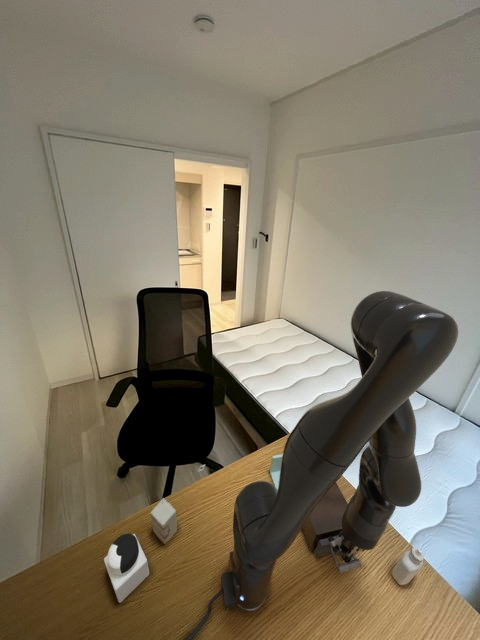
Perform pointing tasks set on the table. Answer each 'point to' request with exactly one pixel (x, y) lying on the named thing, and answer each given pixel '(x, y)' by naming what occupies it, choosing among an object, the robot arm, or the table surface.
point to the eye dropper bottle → (408, 566)
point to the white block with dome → (126, 565)
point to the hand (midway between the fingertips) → (344, 556)
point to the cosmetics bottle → (164, 520)
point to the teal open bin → (276, 469)
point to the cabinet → (325, 516)
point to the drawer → (326, 549)
